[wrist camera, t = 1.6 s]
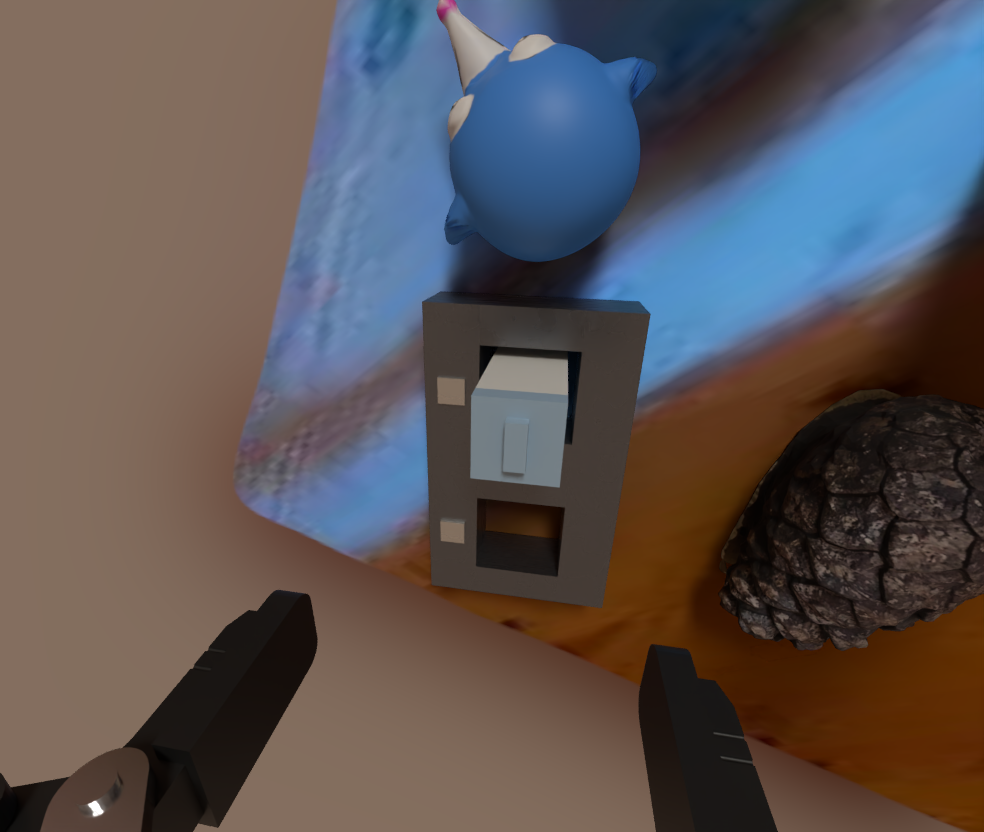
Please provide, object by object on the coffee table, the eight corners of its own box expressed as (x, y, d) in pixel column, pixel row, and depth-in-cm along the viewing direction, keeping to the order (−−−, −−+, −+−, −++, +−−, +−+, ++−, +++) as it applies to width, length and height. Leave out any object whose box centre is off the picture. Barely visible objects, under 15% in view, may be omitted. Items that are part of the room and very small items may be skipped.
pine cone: (685, 570, 34) (729, 699, 25) (828, 349, 26) (967, 417, 17) (819, 616, 33) (914, 764, 24) (1001, 407, 26) (1235, 507, 17)
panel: (638, 301, 27) (651, 314, 23) (598, 567, 35) (602, 610, 31) (440, 291, 28) (421, 302, 24) (445, 548, 36) (431, 586, 32)
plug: (567, 345, 28) (568, 408, 19) (561, 407, 30) (559, 494, 20) (501, 341, 29) (468, 400, 19) (499, 402, 31) (467, 484, 21)
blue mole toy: (561, -66, 21) (558, -232, 13) (687, 166, 24) (744, 138, 16) (378, 123, 25) (295, 79, 17) (504, 301, 28) (479, 330, 20)
